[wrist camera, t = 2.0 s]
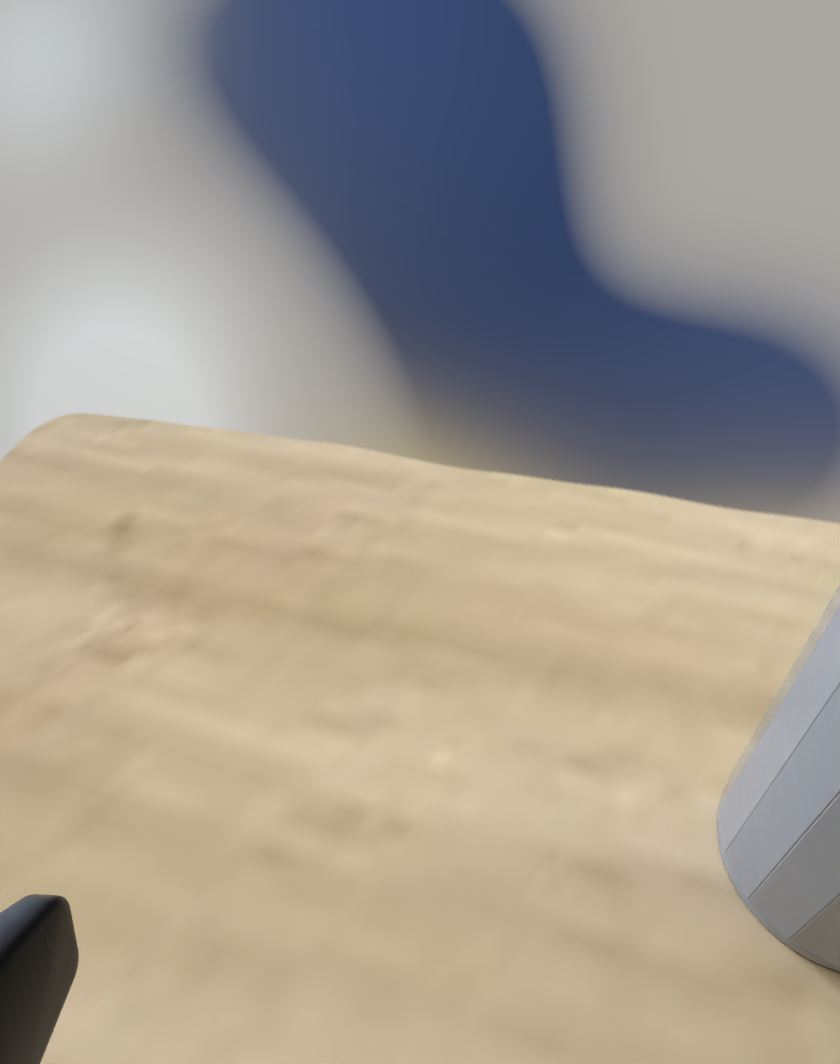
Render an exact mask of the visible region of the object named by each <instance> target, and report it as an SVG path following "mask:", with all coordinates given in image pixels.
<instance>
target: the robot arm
mask: <svg viewBox="0 0 840 1064" xmlns="http://www.w3.org/2000/svg"><path fill="white" fill-rule="evenodd" d="M77 966H78V947H77V942H76V936H75V931H74V926H73V921H72V915H71V910H70V906H69V903H68V901H67V900H66V899H65V898H64V897H62V896H57V895H36V894H34V895H29V896H26V897H24V898H23V899H21V900H19V901H18V902H16V903H15V904H13V905H12V906H10V907H9V908H7V909H6V910H4V911H3V912H1V913H0V1064H40V1062H41V1060H42V1057H43V1055H44V1052H45V1050H46V1047H47V1045H48V1042H49V1040H50V1037H51V1035H52V1032H53V1030H54V1027H55V1025H56V1022H57V1020H58V1018H59V1015H60V1013H61V1010H62V1008H63V1005H64V1003H65V1000H66V998H67V995H68V993H69V990H70V988H71V985H72V983H73V980H74V977H75V974H76V971H77Z"/></svg>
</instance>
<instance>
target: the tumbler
mask: <svg viewBox="0 0 840 1064" xmlns="http://www.w3.org/2000/svg"><path fill="white" fill-rule="evenodd" d="M717 835H718V842H719V848H720V853H721V856H722V859H723V862H724V866H725V868H726V870H727V873H728V875H729V877H730V880H731V882H732V883H733V885H734V887H735V889H736V890H737V892H738V894H739V896H740V897H741V899H742V900H743V901H744V903H745V904H746V906H747V907H748V908H749V910H750V911H751V912H752V913H753V914H754V916H755V917H756V918H757V919H758V920H759V921H760V922H761V923H762V925H763V926H765V927H766V928H767V929H768V930H769V931H770V932H771V933H772V934H773V935H774V936H775V937H776V938H778V939H779V940H780V941H782V942H783V943H784V944H786V945H787V946H788V947H790V948H791V949H793V950H794V951H796V952H798V953H799V954H801V955H803V956H804V957H806V958H808V959H810V960H812V961H814V962H816V963H818V964H820V965H822V966H825V967H827V968H830V969H833V970H836V971H839V972H840V585H839V587H838V588H837V590H836V592H835V594H834V595H833V597H832V599H831V601H830V602H829V604H828V606H827V608H826V609H825V611H824V613H823V615H822V616H821V618H820V620H819V622H818V623H817V625H816V627H815V629H814V630H813V632H812V634H811V636H810V637H809V639H808V641H807V643H806V644H805V646H804V648H803V649H802V651H801V653H800V655H799V656H798V658H797V660H796V662H795V663H794V665H793V667H792V669H791V670H790V672H789V674H788V676H787V677H786V679H785V681H784V683H783V684H782V686H781V688H780V690H779V691H778V693H777V695H776V697H775V698H774V700H773V702H772V704H771V705H770V707H769V709H768V710H767V712H766V714H765V716H764V717H763V719H762V721H761V723H760V724H759V726H758V728H757V730H756V731H755V733H754V735H753V737H752V738H751V740H750V742H749V744H748V745H747V747H746V749H745V751H744V752H743V754H742V756H741V758H740V759H739V761H738V763H737V765H736V766H735V768H734V770H733V771H732V773H731V775H730V778H729V781H728V784H727V786H726V788H725V790H724V793H723V795H722V797H721V801H720V805H719V809H718V818H717Z"/></svg>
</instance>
